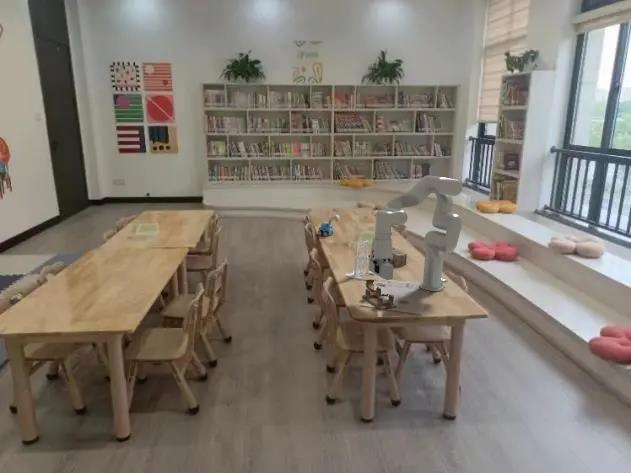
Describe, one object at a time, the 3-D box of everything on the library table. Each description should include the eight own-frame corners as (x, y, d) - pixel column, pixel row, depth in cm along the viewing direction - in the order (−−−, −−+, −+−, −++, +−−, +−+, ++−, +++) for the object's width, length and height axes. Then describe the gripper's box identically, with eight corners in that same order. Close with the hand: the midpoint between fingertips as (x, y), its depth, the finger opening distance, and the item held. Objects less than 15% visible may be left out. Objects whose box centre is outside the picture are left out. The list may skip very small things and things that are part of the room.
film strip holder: (355, 269, 279) (356, 237, 274) (375, 274, 272) (377, 241, 266) (342, 275, 268) (344, 242, 263) (363, 281, 260) (365, 246, 255)
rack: (376, 294, 240) (376, 285, 239) (396, 307, 225) (397, 297, 223) (362, 297, 237) (362, 287, 235) (381, 310, 221) (382, 300, 220)
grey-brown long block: (407, 267, 289) (382, 253, 314) (408, 254, 286) (383, 241, 312) (396, 268, 285) (372, 254, 311) (397, 255, 283) (373, 242, 309)
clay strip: (374, 269, 234) (375, 256, 233) (392, 279, 220) (393, 265, 219) (368, 270, 233) (369, 256, 231) (386, 280, 219) (387, 266, 217)
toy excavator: (334, 238, 349) (335, 216, 345) (316, 235, 358) (316, 213, 353) (340, 236, 356) (341, 214, 352) (322, 233, 365) (322, 211, 360)
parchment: (394, 296, 239) (394, 294, 239) (377, 297, 237) (377, 295, 237) (377, 280, 263) (377, 279, 262) (360, 281, 260) (361, 279, 260)
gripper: (392, 232, 229) (389, 268, 233) (363, 235, 222) (361, 271, 226) (401, 236, 222) (398, 272, 227) (372, 239, 215) (370, 276, 220)
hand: (380, 271), depth 226 cm, fingers closed on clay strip, 3 cm apart
